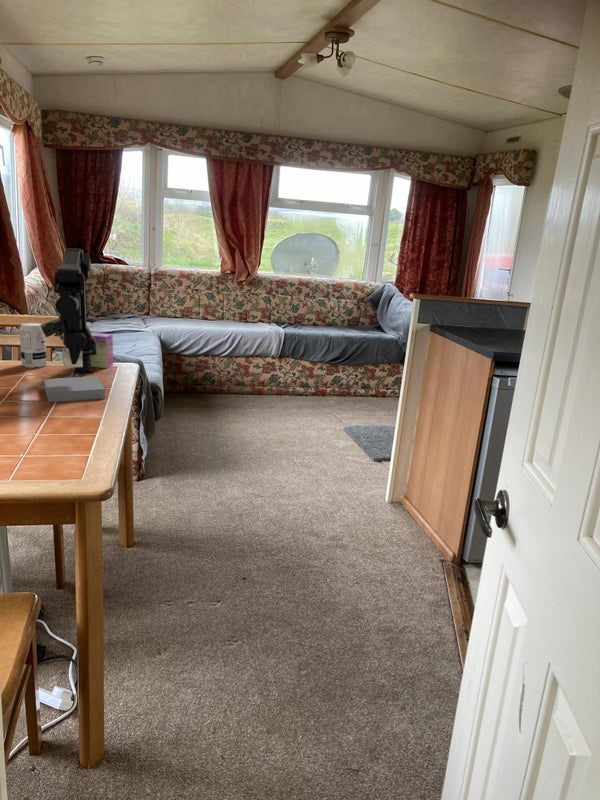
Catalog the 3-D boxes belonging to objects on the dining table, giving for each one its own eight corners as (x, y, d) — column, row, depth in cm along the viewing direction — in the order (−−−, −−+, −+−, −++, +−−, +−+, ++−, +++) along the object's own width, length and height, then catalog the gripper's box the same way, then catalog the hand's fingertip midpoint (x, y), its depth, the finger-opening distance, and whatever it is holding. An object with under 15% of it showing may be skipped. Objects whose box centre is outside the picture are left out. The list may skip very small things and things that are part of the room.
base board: (44, 388, 191) (43, 379, 190) (97, 385, 198) (96, 376, 197) (48, 402, 178) (48, 392, 177) (105, 398, 185) (104, 388, 184)
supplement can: (22, 363, 221) (20, 322, 216) (47, 363, 223) (45, 322, 219) (20, 368, 213) (17, 326, 209) (46, 368, 216) (43, 326, 212)
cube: (63, 363, 187) (62, 347, 185) (80, 363, 189) (79, 347, 187) (65, 367, 182) (64, 351, 181) (82, 366, 185) (82, 350, 183)
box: (113, 365, 226) (112, 333, 223) (107, 368, 221) (106, 336, 218) (86, 362, 227) (85, 331, 224) (79, 366, 222) (78, 334, 218)
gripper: (39, 306, 185) (42, 356, 190) (43, 316, 169) (47, 370, 174) (77, 306, 190) (79, 355, 195) (85, 316, 174) (87, 368, 179)
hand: (72, 362), depth 185 cm, fingers closed on cube, 5 cm apart
